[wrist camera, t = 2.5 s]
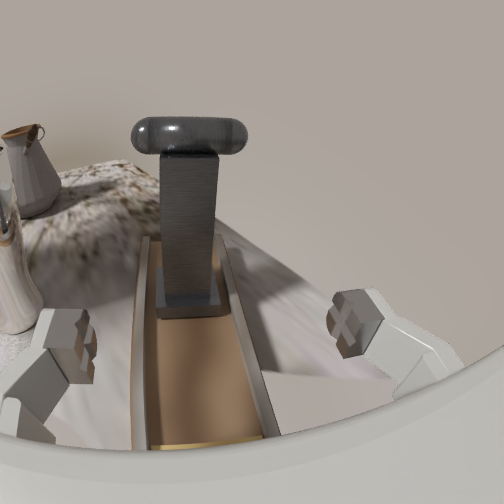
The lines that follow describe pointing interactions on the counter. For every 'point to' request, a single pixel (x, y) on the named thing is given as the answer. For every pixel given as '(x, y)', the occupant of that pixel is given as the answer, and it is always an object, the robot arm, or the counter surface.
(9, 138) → the coffee pot
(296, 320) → the counter surface
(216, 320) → the track
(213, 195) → the handle
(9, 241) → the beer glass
